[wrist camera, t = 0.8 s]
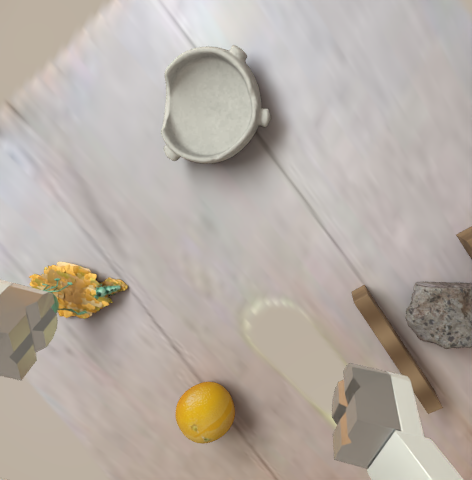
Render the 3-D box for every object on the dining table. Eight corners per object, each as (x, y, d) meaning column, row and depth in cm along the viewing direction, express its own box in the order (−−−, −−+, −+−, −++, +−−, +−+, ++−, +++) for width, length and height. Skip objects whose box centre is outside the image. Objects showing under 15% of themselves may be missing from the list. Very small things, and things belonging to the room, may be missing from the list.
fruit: (211, 427, 63) (196, 465, 56) (177, 392, 63) (157, 425, 56) (249, 399, 61) (239, 434, 53) (213, 362, 61) (198, 392, 53)
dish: (178, 171, 55) (165, 173, 51) (156, 70, 53) (139, 61, 48) (278, 149, 52) (274, 149, 47) (259, 40, 49) (252, 28, 45)
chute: (544, 341, 50) (563, 357, 46) (420, 395, 55) (428, 414, 51) (471, 226, 49) (484, 232, 45) (351, 291, 54) (353, 302, 50)
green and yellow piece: (128, 327, 63) (62, 377, 49) (39, 302, 68) (-44, 341, 54) (131, 271, 60) (61, 307, 46) (38, 250, 65) (-50, 276, 51)
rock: (402, 278, 52) (409, 289, 48) (493, 279, 50) (508, 290, 46) (400, 340, 54) (407, 355, 50) (487, 343, 52) (501, 359, 48)
